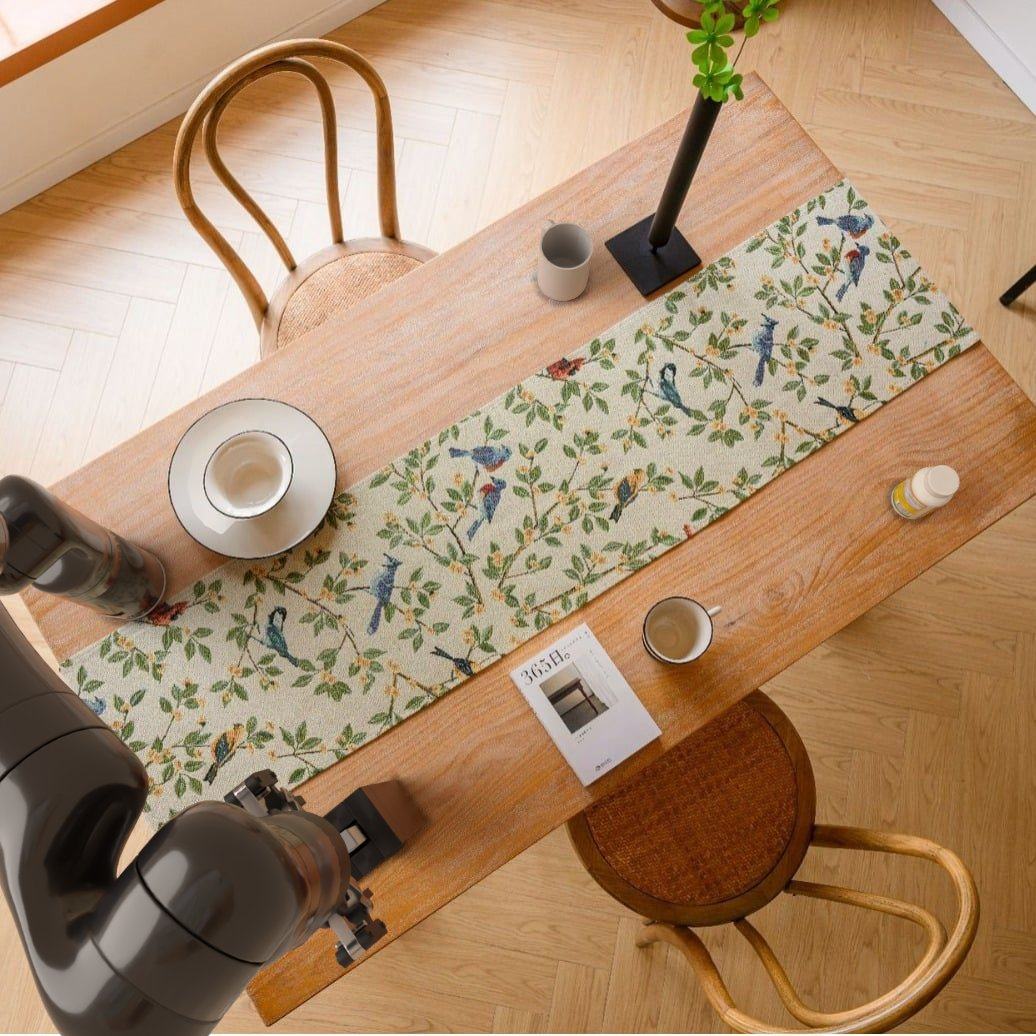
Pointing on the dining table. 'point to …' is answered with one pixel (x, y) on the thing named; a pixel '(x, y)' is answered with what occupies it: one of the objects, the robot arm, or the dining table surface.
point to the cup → (563, 259)
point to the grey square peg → (354, 837)
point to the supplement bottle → (925, 491)
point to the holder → (376, 822)
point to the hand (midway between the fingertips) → (326, 853)
